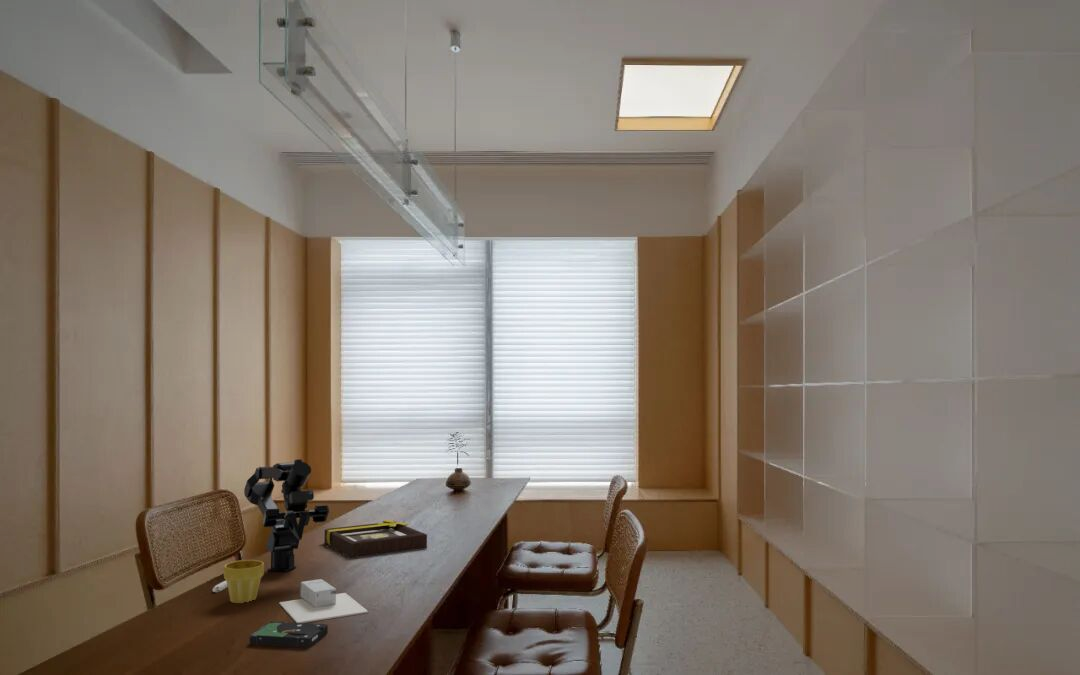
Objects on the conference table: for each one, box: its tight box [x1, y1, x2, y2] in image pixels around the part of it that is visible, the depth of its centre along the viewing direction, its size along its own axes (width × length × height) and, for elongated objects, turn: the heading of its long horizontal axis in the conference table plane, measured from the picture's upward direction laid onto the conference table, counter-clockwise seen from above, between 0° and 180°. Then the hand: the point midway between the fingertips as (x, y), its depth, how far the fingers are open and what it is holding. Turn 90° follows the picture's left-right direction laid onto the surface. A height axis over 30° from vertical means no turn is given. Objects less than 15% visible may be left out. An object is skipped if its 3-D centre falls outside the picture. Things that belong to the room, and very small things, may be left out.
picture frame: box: [324, 519, 428, 559], centre depth 283 cm, size 28×7×30 cm
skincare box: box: [300, 578, 337, 607], centre depth 211 cm, size 6×4×12 cm
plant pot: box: [223, 559, 265, 604], centre depth 213 cm, size 10×10×10 cm
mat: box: [279, 592, 369, 623], centre depth 205 cm, size 20×18×1 cm
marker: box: [212, 580, 228, 593], centre depth 228 cm, size 18×2×2 cm, turn 174°
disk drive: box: [248, 621, 329, 649], centre depth 181 cm, size 10×3×15 cm
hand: (300, 539), depth 231 cm, fingers closed
